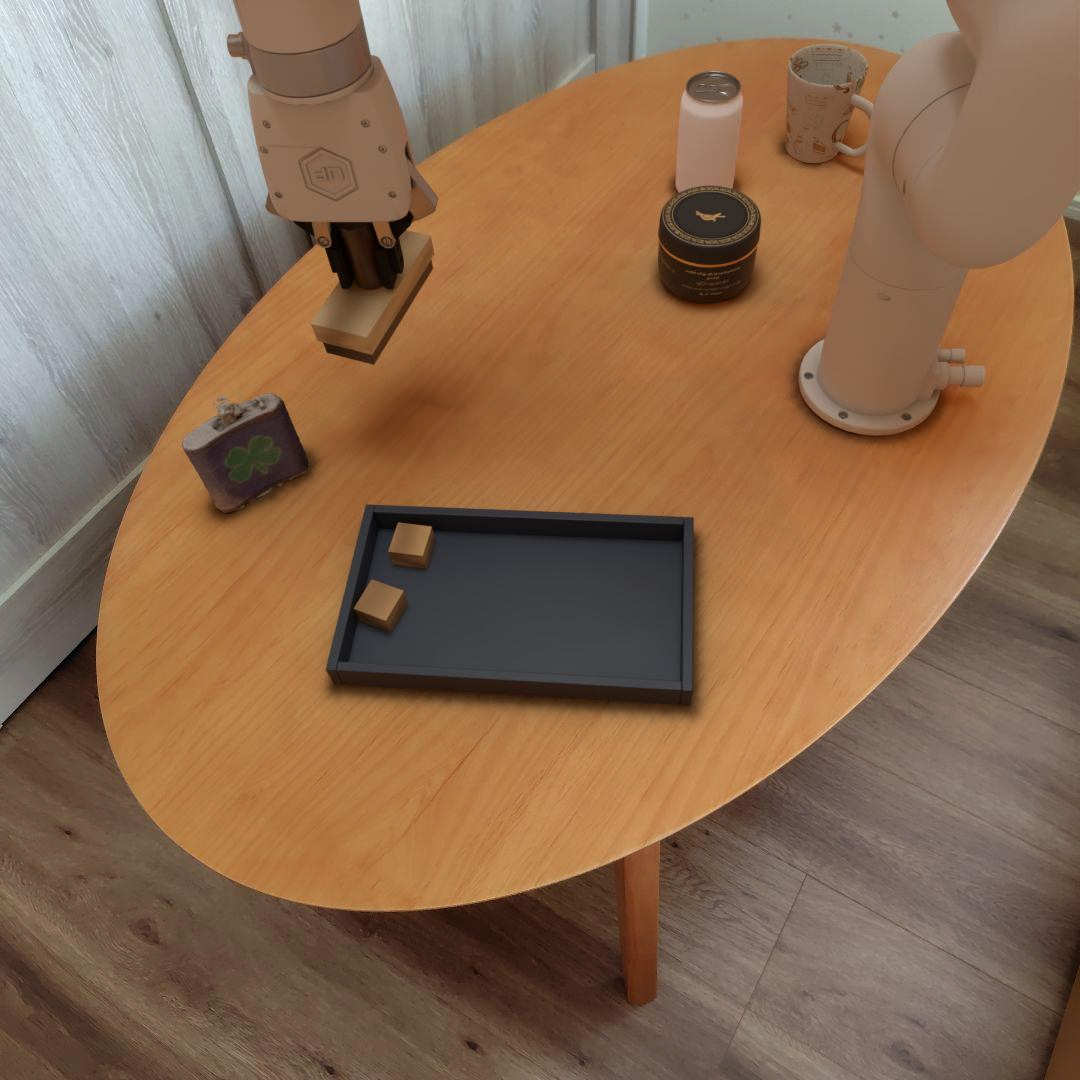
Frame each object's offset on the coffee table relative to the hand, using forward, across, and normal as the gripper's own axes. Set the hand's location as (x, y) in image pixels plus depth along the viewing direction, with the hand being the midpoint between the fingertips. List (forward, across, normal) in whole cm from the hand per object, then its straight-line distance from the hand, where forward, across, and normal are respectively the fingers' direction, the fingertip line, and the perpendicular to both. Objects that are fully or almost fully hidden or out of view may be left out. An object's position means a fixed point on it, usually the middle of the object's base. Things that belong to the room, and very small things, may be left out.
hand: (370, 275), depth 76 cm
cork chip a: (+16, +3, -16) cm, 23 cm away
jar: (+17, +28, +20) cm, 39 cm away
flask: (+17, -12, -8) cm, 23 cm away
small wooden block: (+16, +2, -22) cm, 27 cm away
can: (+17, +28, +35) cm, 48 cm away
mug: (+17, +42, +41) cm, 61 cm away
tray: (+17, +13, -21) cm, 30 cm away
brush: (+4, 0, 0) cm, 4 cm away
